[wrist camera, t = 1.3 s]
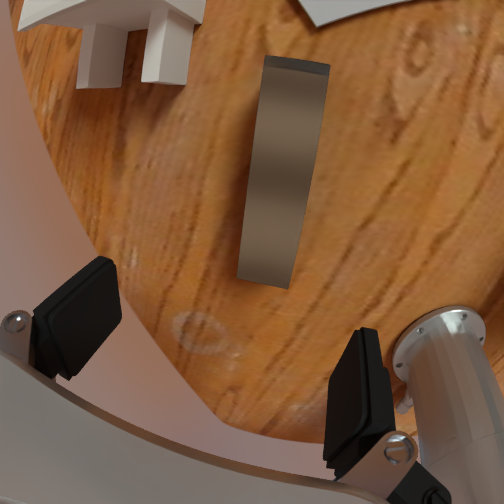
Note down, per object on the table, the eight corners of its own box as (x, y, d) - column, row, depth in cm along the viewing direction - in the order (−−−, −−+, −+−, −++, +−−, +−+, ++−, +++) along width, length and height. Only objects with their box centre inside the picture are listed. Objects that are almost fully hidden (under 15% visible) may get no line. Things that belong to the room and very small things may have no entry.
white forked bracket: (193, 85, 22) (105, 75, 12) (104, 88, 23) (9, 96, 13) (208, -13, 17) (138, -71, 7) (117, 2, 19) (31, -22, 8)
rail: (294, 253, 27) (288, 289, 22) (252, 244, 28) (236, 278, 23) (326, 76, 20) (330, 64, 14) (277, 69, 20) (265, 55, 15)
